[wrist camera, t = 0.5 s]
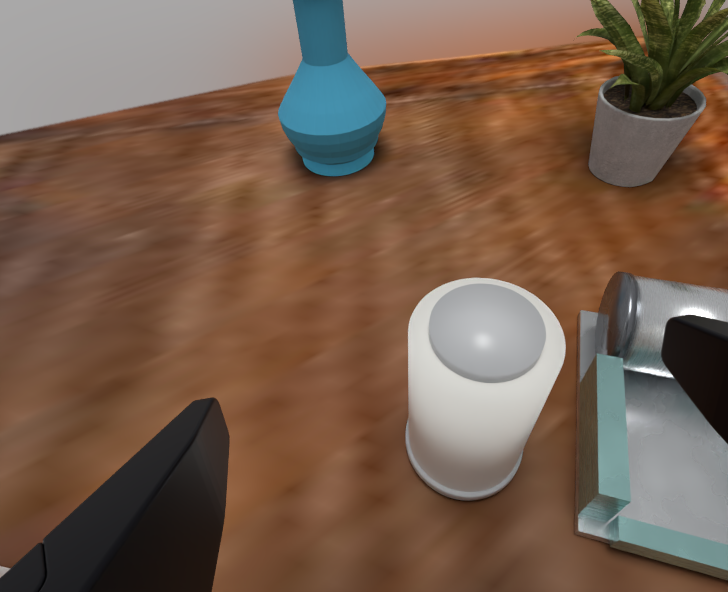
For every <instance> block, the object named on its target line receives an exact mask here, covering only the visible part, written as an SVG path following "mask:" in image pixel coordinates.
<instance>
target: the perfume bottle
mask: <svg viewBox="0 0 728 592" xmlns="http://www.w3.org/2000/svg"><path fill="white" fill-rule="evenodd" d="M293 4H294V10H295V16H296V22H297V27H298V33H299V39H300V45H301V51H302V57H303V59H302V61H301V63H300V66H299V68H298V70H297V72H296V74H295V76H294V78H293V81H292V83H291V85H290V87H289V89H288V90H287V92H286V94H285V97H284V99H283V101H282V103H281V105H280V108H279V112H278V116H279V119H280V122H281V125H282V128H283V130H284V132H285V134H286V135H287V137H288V138H289V140H290V141H291V142H292V143H293V145H294V146H295V148H296V151H297V152H298V153H299V154H300V155H301V156H302V158H303V162H304V165H305V166H306V167H307V168H308V169H309V170H310V171H312V172H314V173H316V174H319V175H324V176H343V175H348V174H351V173H354V172H357V171H359V170H361V169H363V168H364V167H366V166H367V165H368V164H369V163H370V162H371V160H372V159H373V156H374V147H375V145H376V143H377V141H378V134H379V132H380V131H381V129H382V126H383V122H384V118H385V113H386V100H385V97H384V96H383V94H382V93H381V92H380V90H379V89H378V88H377V87H376V85H375V84H374V83H373V82H372V81H371V80H370V79H369V77H368V76H367V75H366V74H365V73H364V72H363V71H362V69H361V68H360V67H359V66H358V65H357V64H356V63H355V61H354V60H353V59H352V57H351V56H350V55H349V54H348V52H347V42H346V32H345V22H344V12H343V1H342V0H293Z"/></svg>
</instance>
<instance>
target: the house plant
mask: <svg viewBox="0 0 728 592" xmlns="http://www.w3.org/2000/svg"><path fill="white" fill-rule="evenodd" d="M724 2H725V0H714V1H713V3H712V4H711V6H710V8H709V10H708V12H707V14H706V16H705V17H704V19H703V20H702V22H701V23H699V24H698V25H697V26H696V27H694V28H693V26H694V24H695V23H696V21H697V20H698V18H699V17H700V14H701V11H702V8H703V6H704V5H705V4H706V2H705V0H688V1H687V4H686V6H685V9H684V12H683V14H682V16H681V19H678V16H679V7H680V0H675V3H674V2H673V0H660V3H661V5H660V4H659V0H642V1H641V6H640V5H639V2H638V0H632V3H633V5H634V7H635V10H636V12H637V16H638V19H639V22H640V25H641V29H642V32H643V36H644V39H645V43H646V47H647V51H648V57H646V56H645V55H644V52H643V50H642V48H641V46H640V44H639V42H638V41H637V39H636V37H635V35H634V33H633V31H632V29H631V27H630V25H629V24H628V23H627V22H626V20H625V19H624V18H623V17H622V16H621V15H620V14H619V13H618V11H617V10H616V9H615V8H614V7H613V6H612V5H611V4H610V3H609V1H607V0H591V4H592V7H593V10H594V12H595V15H596V17H597V18H598V20H599V21H600V22H601V24H602V25H603V27H604V28H601V29H599V28H596V29H590V30H587V31H585V32H583V33H581V34H580V35H579V36H585V35H591V36H598V37H602V38H605V39H608V40H609V41H610V42H611V43H612V44H613V45H615V47H616V48H617V50H600V51H602V52H604V53H606V54H609V55H614V56H618V57H621V59H622V60H623V62H624V74H621V75H620V76H617V77H614V78H611V79H609V80H607V81H606V82H605V83H604V84H603V85H602V86H601V87H600V90H599V94H598V101H597V108H596V115H595V122H594V129H593V136H592V143H591V150H590V157H589V164H588V165H589V169H590V171H591V172H592V174H594V175H595V176H596V177H597V178H599V179H600V180H602V181H604V182H607V183H610V184H613V185H617V186H622V187H634V186H640V185H643V184H646V183H648V182H651V181H653V179H654V178H655V176H656V175H657V174H658V172H659V171H660V169H661V168H662V167H663V165H664V164H665V162H666V161H667V160H668V158H669V157H670V156H671V154H672V153H673V151H674V150H675V149H676V147H677V146H678V144H679V143H680V142H681V140H682V139H683V137H684V136H685V135H686V133H687V132H688V130H689V129H690V128H691V126H692V125H693V123H694V122H695V121H696V119H697V118H698V116H699V115H700V114H701V112H702V111H703V109H704V108H705V107H706V98H705V96H704V95H703V93H702V92H701V91H700V90H699V89H697V88H696V87H695V86H693V85H691V84H693V83H694V82H696V81H697V80H699V79H702V78H704V77H706V76H708V75H710V74H714V73H718V72H724V73H726V74H728V57H726V56H728V40H727V41H725V42H723V43H721V44H719V43H720V42H721V41H722V40H723V39H725V38H726V37H727V36H728V32H727V33H726V34H725V35H724V36H722V37H721V38H720V39H719V40H717V39H718V38H719V37H720V36H721V35H722V34H723V33H724V32H725V31H726V30H728V17H727V15H728V8H726V9H723V10H720V11H719V9H720V8H721V6H722V5H723V3H724ZM674 4H675V5H674ZM643 16H644V17H643ZM726 17H727V18H726ZM644 19H645V21H644ZM645 22H646V25H647V31H646V26H645ZM692 28H693V29H692ZM691 29H692V30H691ZM647 32H648V34H647ZM710 32H711V33H710ZM709 33H710V34H709ZM708 34H709V35H708ZM707 35H708V36H707ZM579 36H577V37H579ZM706 36H707V37H706ZM705 37H706V38H705ZM704 38H705V39H704ZM703 39H704V41H702V40H703ZM716 40H717V41H716ZM715 41H716V42H715ZM714 42H715V43H714ZM713 43H714V44H713ZM712 44H713V45H712ZM717 44H719V45H717ZM711 45H712V46H711ZM716 45H717V46H716ZM704 51H705V52H704ZM703 52H704V53H703ZM648 72H649V73H648Z"/></svg>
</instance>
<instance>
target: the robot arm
mask: <svg viewBox="0 0 728 592" xmlns="http://www.w3.org/2000/svg"><path fill="white" fill-rule="evenodd" d="M661 358H662V361H663V363H664V365H665V366H666V368H667V369H668V370H669V372H670V373H671V374H672V376H673V377H674V378H675V380H676V381H677V382H678V384H679V385H680V386H681V387H682V389H683V390H684V391H685V393H686V394H687V395H688V397H689V398H690V399H691V401H692V402H693V403H694V405H695V406H696V407H697V409H698V410H699V411H700V412H701V414H702V415H703V416H704V418H705V419H706V420H707V421H708V423H709V424H710V425H711V426H712V427H713V429H714V430H715V431H716V432H717V433H718V434H719V435H720V437H721V438H722V439H723V440H724V441H725V442H726V443H727V444H728V322H725V321H721V320H716V319H712V318H707V317H703V316H698V315H693V314H687V315H682V316H676V317H672V318H670V319H669V320H668V321H667V323H666V326H665V331H664V337H663V343H662V349H661ZM228 458H229V433H228V429H227V426H226V423H225V420H224V417H223V413H222V410H221V407H220V404H219V402H218V400H217V399H216V398H206V399H201V400H195V401H193V402H192V403H191V404H190V405H189V406H187V407H186V408H185V409H184V410H183V411H182V412H181V413H180V414H179V415H178V416H177V417H175V418H174V419H173V420H172V421H171V422H170V423H169V424H168V425H167V426H166V427H165V428H164V429H162V430H161V431H160V432H159V433H158V434H157V435H156V436H155V437H154V438H153V439H152V440H150V441H149V442H148V443H147V444H146V445H145V446H144V447H143V448H142V449H141V450H140V451H138V452H137V453H136V454H135V455H134V456H133V457H132V458H131V459H130V460H129V461H128V462H126V463H125V464H124V465H123V466H122V467H121V468H120V469H119V470H118V471H117V472H116V473H115V474H113V475H112V476H111V477H110V478H109V479H108V480H107V481H106V482H105V483H104V484H103V485H101V486H100V487H99V488H98V489H97V490H96V491H95V492H94V493H93V494H92V495H91V496H89V497H88V498H87V499H86V500H85V501H84V502H83V503H82V504H81V505H80V506H79V507H77V508H76V509H75V510H74V511H73V512H72V513H71V514H70V515H69V516H68V517H67V518H65V519H64V520H63V521H62V522H61V523H60V524H59V525H58V526H57V527H56V528H55V529H53V530H52V531H51V532H50V533H49V534H48V535H47V536H46V537H45V538H44V539H43V543H38V544H37V545H36V546H35V547H34V548H33V549H32V550H30V551H29V552H28V553H27V554H26V555H25V556H24V557H23V558H22V559H21V560H20V561H18V562H17V563H16V564H15V565H14V566H13V567H12V568H11V569H10V570H8V571H7V572H6V573H5V574H4V575H3V576H2V577H1V578H0V592H212V586H213V581H214V575H215V570H216V564H217V559H218V553H219V547H220V542H221V536H222V531H223V524H224V518H225V507H226V491H227V475H228Z"/></svg>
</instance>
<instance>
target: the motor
mask: <svg viewBox="0 0 728 592" xmlns="http://www.w3.org/2000/svg"><path fill="white" fill-rule="evenodd" d="M687 314H693V315H698V316H703V317H707V318H712V319H716V320H721V321H725V322H728V290H726V289H719V288H713V287H706V286H699V285H693V284H686V283H679V282H673V281H666V280H660V279H653V278H646V277H640V276H633V274H631V273H626V272H616V273H615V274H614V275H613V276H612V278H611V279H610V281H609V283H608V285H607V287H606V289H605V292H604V295H603V298H602V301H601V304H600V308H599V312H598V313H594V312H589V311H583V310H580V313H579V315H578V347H577V411H576V476H575V534H576V535H580V536H583V537H587V538H590V539H594V540H597V541H601V542H604V543H608V544H610V547H612V548H616V549H619V550H623V551H626V552H630V553H633V554H637V555H640V556H644V557H647V558H651V559H655V560H658V561H662V562H665V563H669V564H672V565H676V566H679V567H683V568H686V569H690V570H693V571H697V572H700V573H704V574H707V575H711V576H714V577H718V578H721V579H725V580H728V444H727V443H726V442H725V441H724V440H723V439H722V438H721V437H720V435H719V434H718V433H717V432H716V431H715V430H714V429H713V427H712V426H711V425H710V424H709V423H708V421H707V420H706V419H705V418H704V416H703V415H702V414H701V412H700V411H699V410H698V409H697V407H696V406H695V405H694V403H693V402H692V401H691V399H690V398H689V397H688V395H687V394H686V393H685V391H684V390H683V389H682V387H681V386H680V385H679V384H678V382H677V381H676V380H675V378H674V377H673V376H672V374H671V373H670V372H669V370H668V369H667V368H666V366H665V365H664V363H663V361H662V358H661V349H662V343H663V337H664V331H665V326H666V323H667V321H668V320H669V319H670V318H672V317H676V316H682V315H687Z"/></svg>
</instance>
